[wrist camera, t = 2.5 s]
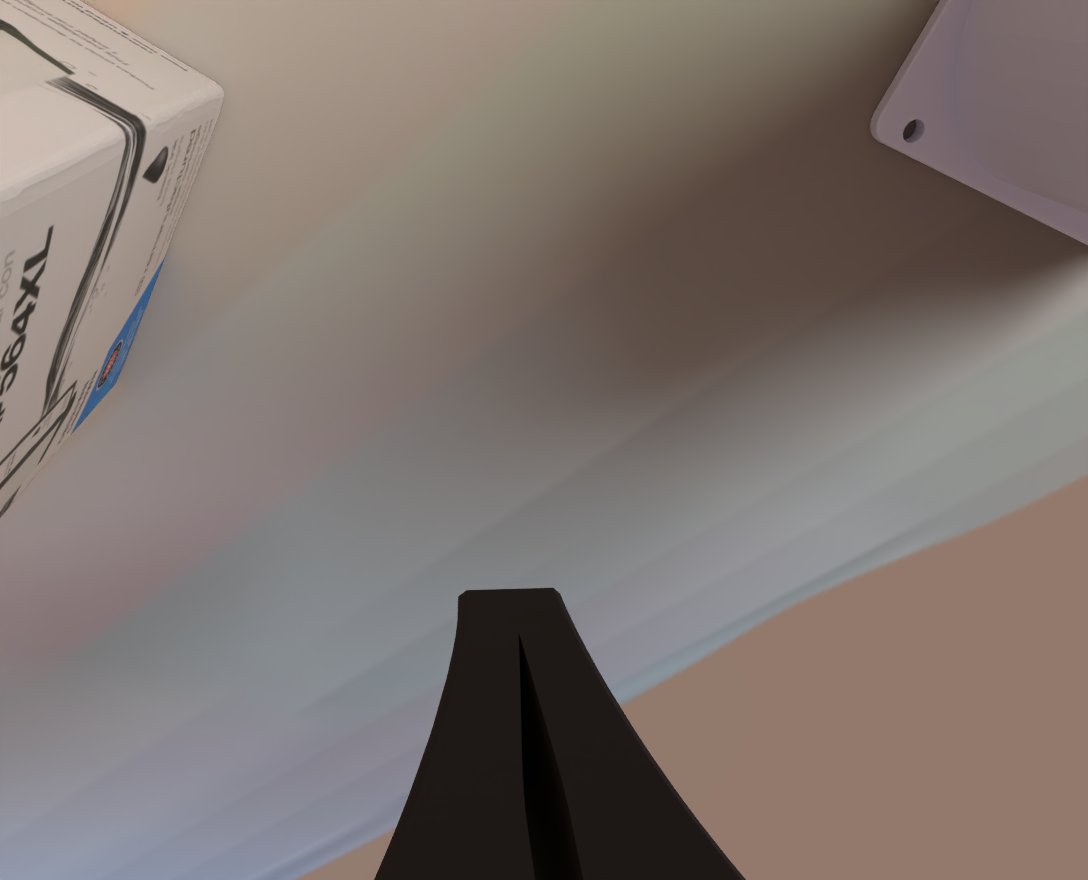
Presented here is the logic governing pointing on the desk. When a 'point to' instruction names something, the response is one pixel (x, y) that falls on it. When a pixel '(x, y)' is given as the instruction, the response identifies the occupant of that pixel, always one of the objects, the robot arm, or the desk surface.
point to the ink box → (82, 210)
